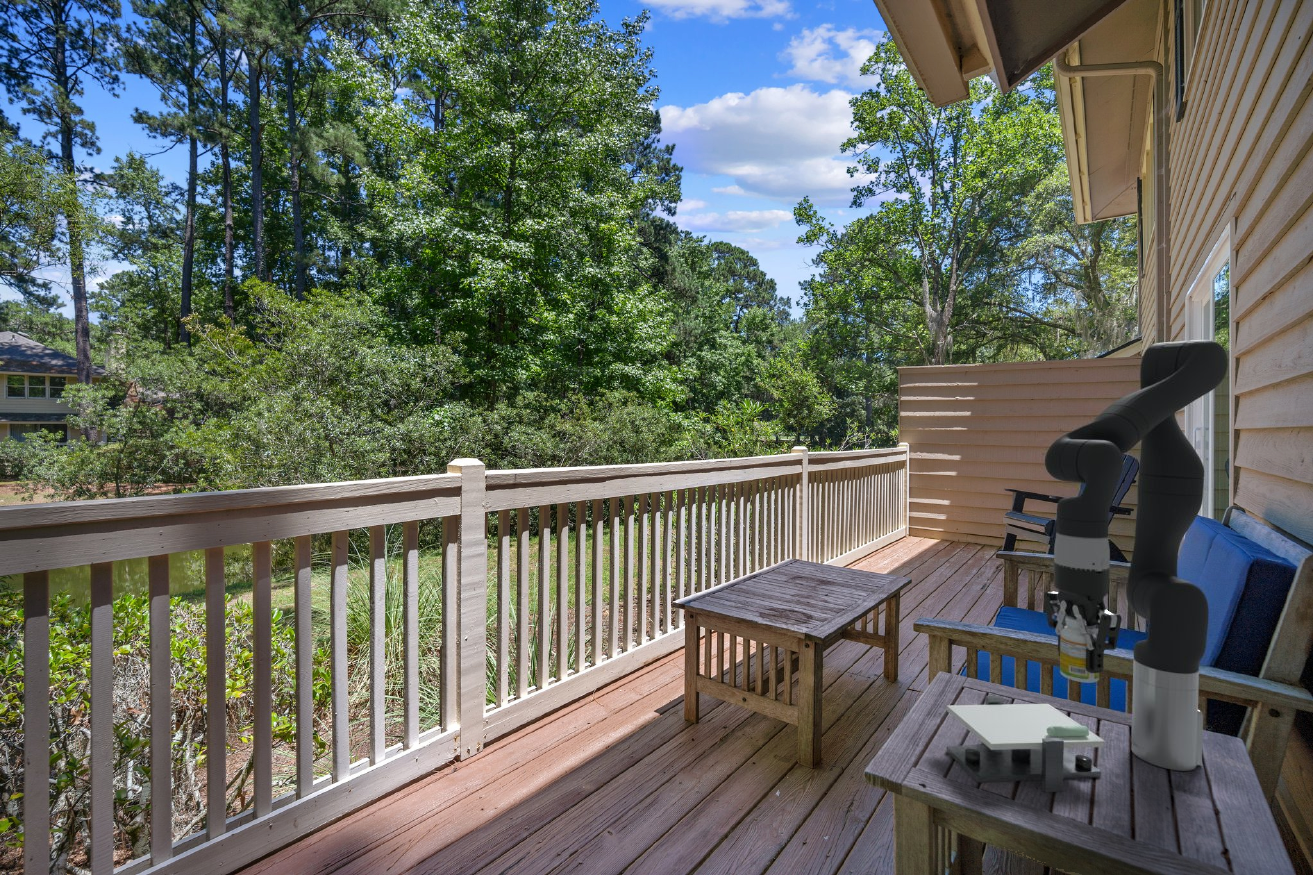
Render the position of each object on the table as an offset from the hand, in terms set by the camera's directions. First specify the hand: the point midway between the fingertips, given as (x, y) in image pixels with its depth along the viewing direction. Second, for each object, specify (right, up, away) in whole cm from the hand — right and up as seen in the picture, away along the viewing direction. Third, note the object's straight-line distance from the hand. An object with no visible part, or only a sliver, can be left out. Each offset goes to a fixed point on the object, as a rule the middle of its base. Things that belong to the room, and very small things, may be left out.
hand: (1079, 664), depth 104 cm
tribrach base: (-4, -21, +9) cm, 23 cm away
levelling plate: (-4, -14, +9) cm, 17 cm away
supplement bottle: (0, -2, 0) cm, 2 cm away
